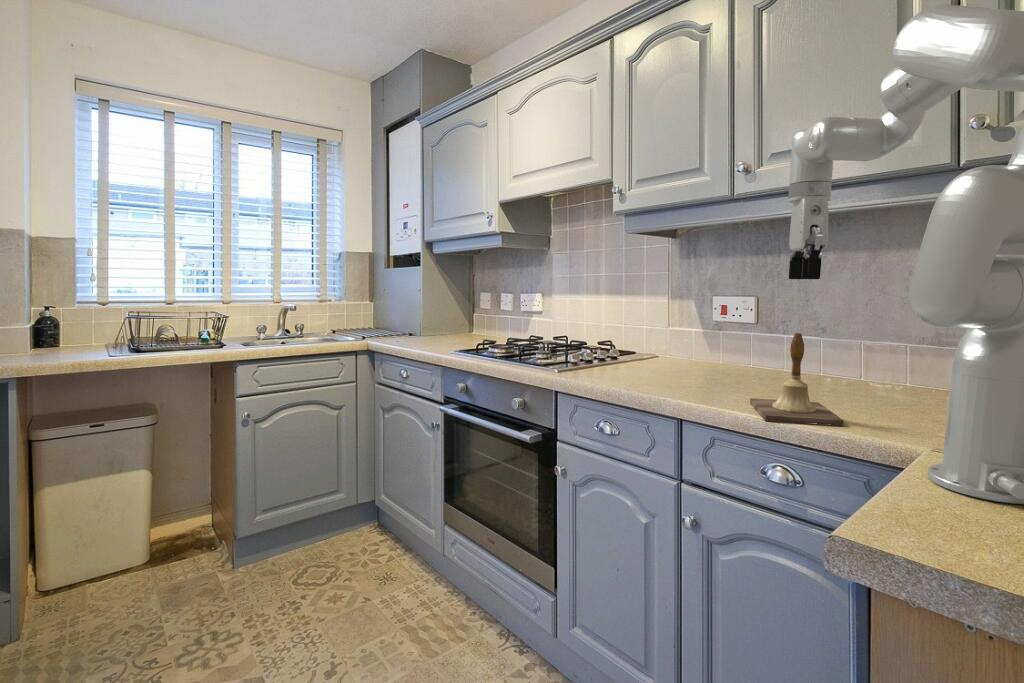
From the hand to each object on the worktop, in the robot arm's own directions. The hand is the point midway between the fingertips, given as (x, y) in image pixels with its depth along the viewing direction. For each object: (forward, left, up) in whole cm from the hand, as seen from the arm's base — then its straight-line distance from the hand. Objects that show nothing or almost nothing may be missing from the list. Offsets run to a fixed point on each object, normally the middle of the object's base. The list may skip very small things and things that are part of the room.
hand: (803, 279), depth 112 cm
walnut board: (0, 0, -28) cm, 28 cm away
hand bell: (0, 0, -27) cm, 27 cm away
